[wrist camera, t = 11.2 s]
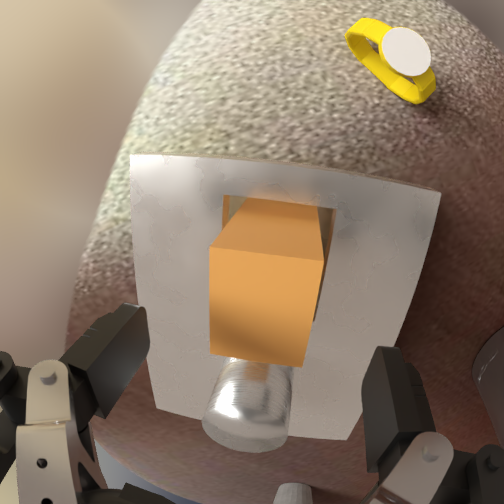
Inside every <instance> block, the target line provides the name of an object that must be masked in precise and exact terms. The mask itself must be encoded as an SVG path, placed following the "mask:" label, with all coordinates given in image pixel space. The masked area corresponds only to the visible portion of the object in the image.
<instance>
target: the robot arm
mask: <svg viewBox="0 0 504 504" xmlns="http://www.w3.org/2000/svg"><path fill="white" fill-rule="evenodd" d="M149 348H150V336H149V329H148V321H147V313H146V309H145V308H144V307H142V306H138V305H134V304H130V303H126V302H125V303H123V304H122V305H121V306H120V307H119V308H118V309H117V310H116V311H115V312H114V313H108V314H106V315H104V316H102V317H100V318H99V319H97V320H96V321H95V322H94V323H93V324H92V325H91V327H90V329H88V330H87V331H86V332H85V333H84V334H83V336H81V337H80V338H79V339H78V340H77V341H76V342H75V343H74V344H73V345H72V346H71V347H70V348H69V350H68V351H67V352H66V353H65V354H64V355H63V356H62V357H61V358H60V359H59V360H58V361H57V360H45V361H42V362H40V363H38V364H36V365H35V366H34V367H33V368H26V367H20V366H15V364H14V362H13V359H12V357H11V356H10V355H9V354H8V353H6V352H2V351H1V352H0V406H1V407H2V409H3V410H2V412H1V413H0V484H1V482H2V480H3V479H4V477H5V475H6V474H7V472H8V470H9V468H10V467H11V465H12V464H13V462H14V461H15V459H16V467H17V482H18V494H19V504H175V503H174V502H172V501H170V500H168V499H166V498H165V497H163V496H161V495H158V494H155V493H152V492H149V491H147V490H144V489H141V488H139V487H136V486H133V485H131V484H128V483H125V485H124V488H123V489H122V490H120V489H108V486H107V484H106V481H105V479H104V477H103V474H102V472H101V469H100V466H99V462H98V457H97V452H96V447H95V442H94V437H93V431H92V425H91V422H90V420H91V418H92V417H93V415H96V416H99V417H101V418H103V419H106V417H107V416H108V414H109V413H110V411H111V410H112V408H113V406H114V405H115V403H116V402H117V400H118V399H119V397H120V396H121V394H122V393H123V391H124V390H125V388H126V387H127V385H128V384H129V382H130V381H131V379H132V378H133V376H134V375H135V373H136V372H137V370H138V369H139V367H140V366H141V364H142V363H143V361H144V360H145V358H146V356H147V355H148V352H149ZM472 377H473V380H474V382H475V384H476V387H477V389H478V391H479V393H480V395H481V398H482V400H483V402H484V405H485V407H486V410H487V412H488V414H489V417H490V419H491V422H492V424H493V427H494V429H495V432H496V435H497V437H498V440H499V443H500V446H501V447H499V446H497V445H493V444H489V445H486V446H484V447H482V448H481V449H480V450H479V451H478V452H477V453H476V454H473V453H468V452H462V451H458V450H454V449H453V447H452V445H451V443H450V441H449V440H448V439H447V438H446V437H445V436H443V435H441V434H439V433H437V432H436V428H435V425H434V421H433V417H432V414H431V410H430V407H429V403H428V400H427V397H426V393H425V390H424V388H423V383H422V380H421V377H420V374H419V373H418V371H417V370H416V369H415V368H414V366H413V365H412V364H411V363H404V359H403V356H402V353H401V350H400V348H399V347H388V346H377V347H376V349H375V351H374V354H373V356H372V359H371V361H370V364H369V366H368V369H367V371H366V373H365V376H364V378H363V382H362V387H361V399H362V408H363V419H364V431H365V444H366V459H367V473H376V472H379V481H378V482H377V483H376V484H375V485H374V486H373V488H372V489H371V490H370V491H369V493H368V494H367V495H366V496H365V497H364V498H363V500H362V501H361V502H360V503H359V504H504V327H503V328H501V329H500V330H499V331H498V332H496V333H495V334H494V335H493V336H492V337H491V338H490V339H489V340H488V341H487V342H486V344H485V345H484V346H483V347H482V349H481V350H480V352H479V354H478V355H477V357H476V359H475V361H474V364H473V368H472Z"/></svg>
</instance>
